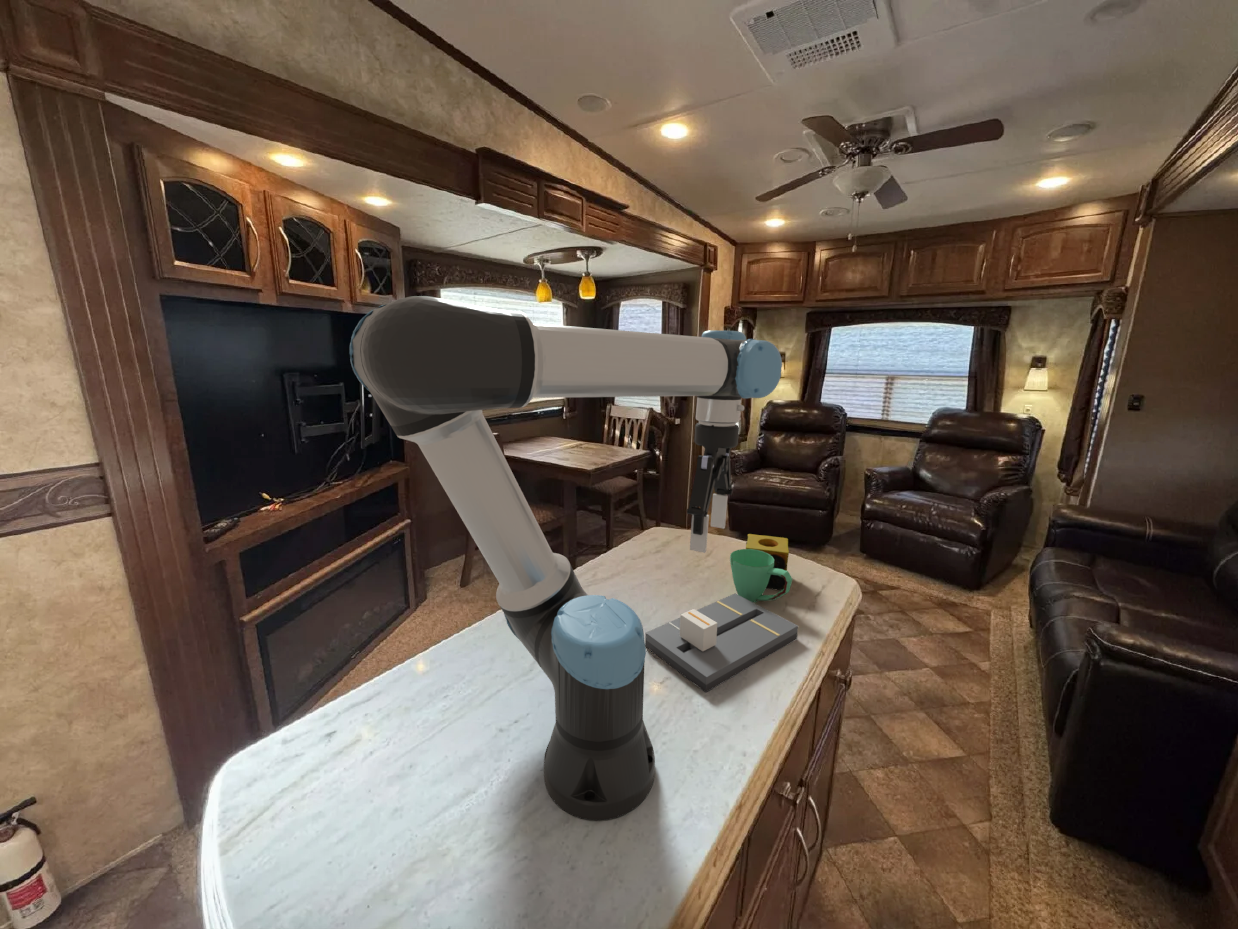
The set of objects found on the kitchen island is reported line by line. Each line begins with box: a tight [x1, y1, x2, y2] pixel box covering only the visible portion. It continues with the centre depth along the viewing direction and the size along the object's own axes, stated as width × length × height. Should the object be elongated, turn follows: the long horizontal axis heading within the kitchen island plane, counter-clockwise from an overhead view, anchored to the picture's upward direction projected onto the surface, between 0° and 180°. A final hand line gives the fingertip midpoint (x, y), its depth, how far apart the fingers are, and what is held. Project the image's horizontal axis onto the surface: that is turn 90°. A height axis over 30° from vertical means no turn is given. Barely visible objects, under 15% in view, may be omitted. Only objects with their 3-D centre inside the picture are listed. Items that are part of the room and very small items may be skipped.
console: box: [644, 593, 799, 693], centre depth 95 cm, size 26×16×3 cm, turn 127°
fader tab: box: [679, 608, 717, 651], centre depth 90 cm, size 4×6×6 cm, turn 37°
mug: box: [729, 548, 793, 603], centre depth 110 cm, size 15×10×10 cm
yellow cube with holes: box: [745, 533, 790, 591], centre depth 120 cm, size 10×10×10 cm
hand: (708, 538), depth 89 cm, fingers open, 13 cm apart
